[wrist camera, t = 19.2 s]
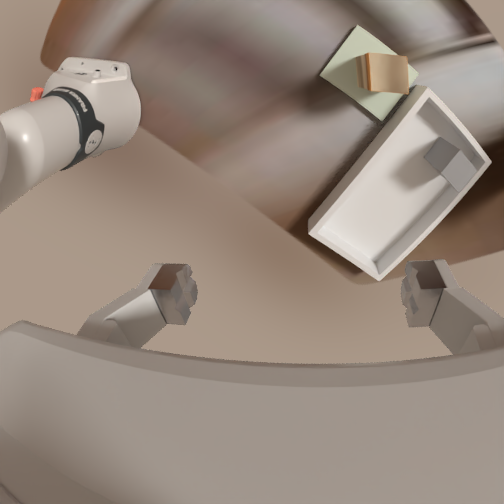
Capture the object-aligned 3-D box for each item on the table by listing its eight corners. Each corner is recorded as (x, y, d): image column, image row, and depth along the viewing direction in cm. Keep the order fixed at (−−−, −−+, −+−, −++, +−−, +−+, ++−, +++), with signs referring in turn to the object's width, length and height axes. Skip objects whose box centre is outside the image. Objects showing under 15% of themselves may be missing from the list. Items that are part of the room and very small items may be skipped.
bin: (308, 219, 48) (308, 233, 45) (416, 84, 32) (427, 87, 28) (375, 265, 51) (379, 281, 47) (478, 153, 34) (491, 162, 31)
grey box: (423, 157, 37) (441, 172, 31) (439, 136, 34) (460, 149, 29) (440, 174, 38) (458, 192, 32) (456, 155, 35) (477, 170, 29)
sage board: (319, 75, 34) (319, 75, 33) (356, 26, 29) (357, 25, 28) (380, 120, 36) (382, 121, 35) (416, 73, 31) (419, 73, 30)
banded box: (357, 87, 33) (371, 91, 26) (354, 56, 31) (368, 52, 24) (388, 88, 32) (408, 94, 25) (386, 58, 30) (407, 56, 23)
